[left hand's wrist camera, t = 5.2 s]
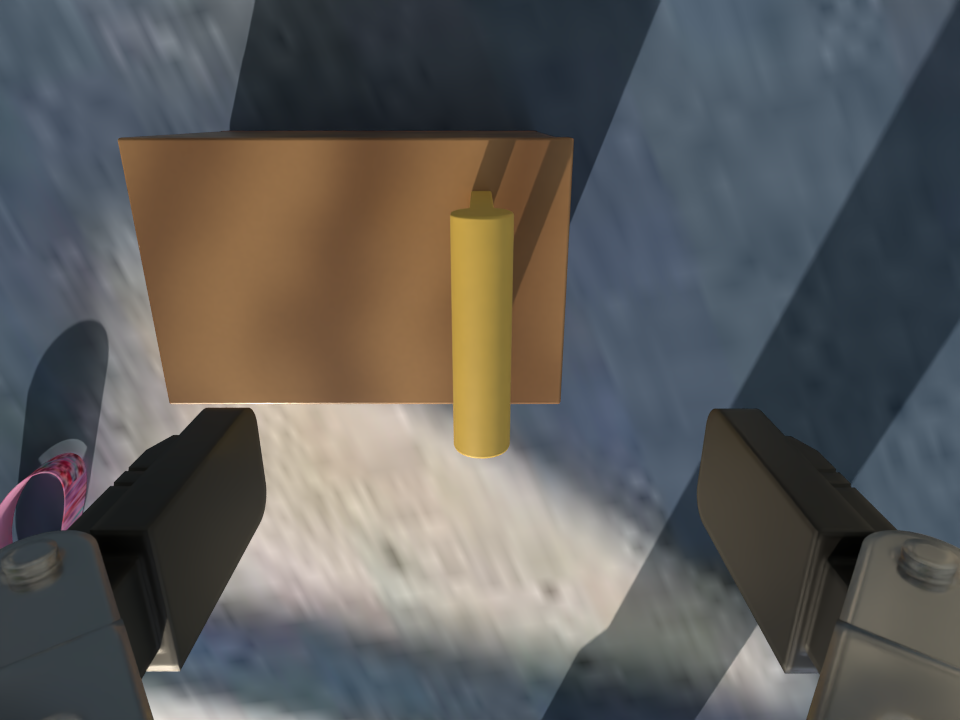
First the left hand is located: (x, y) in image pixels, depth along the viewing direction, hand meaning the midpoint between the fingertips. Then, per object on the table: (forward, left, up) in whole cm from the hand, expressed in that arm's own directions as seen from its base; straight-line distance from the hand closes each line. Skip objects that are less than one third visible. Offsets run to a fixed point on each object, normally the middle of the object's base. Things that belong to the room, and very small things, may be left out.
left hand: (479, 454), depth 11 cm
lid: (-3, +3, -13) cm, 14 cm away
